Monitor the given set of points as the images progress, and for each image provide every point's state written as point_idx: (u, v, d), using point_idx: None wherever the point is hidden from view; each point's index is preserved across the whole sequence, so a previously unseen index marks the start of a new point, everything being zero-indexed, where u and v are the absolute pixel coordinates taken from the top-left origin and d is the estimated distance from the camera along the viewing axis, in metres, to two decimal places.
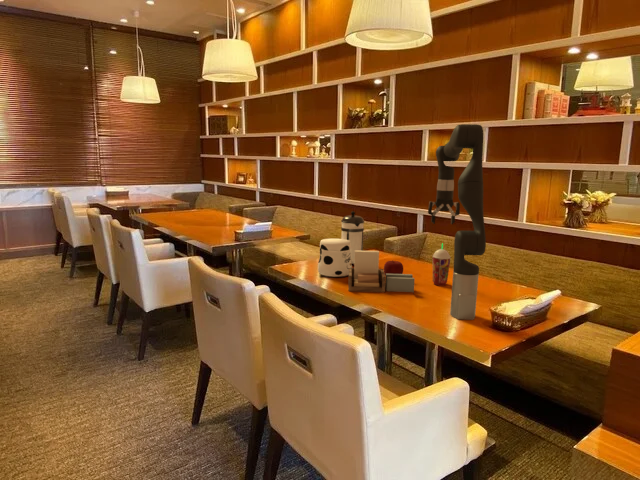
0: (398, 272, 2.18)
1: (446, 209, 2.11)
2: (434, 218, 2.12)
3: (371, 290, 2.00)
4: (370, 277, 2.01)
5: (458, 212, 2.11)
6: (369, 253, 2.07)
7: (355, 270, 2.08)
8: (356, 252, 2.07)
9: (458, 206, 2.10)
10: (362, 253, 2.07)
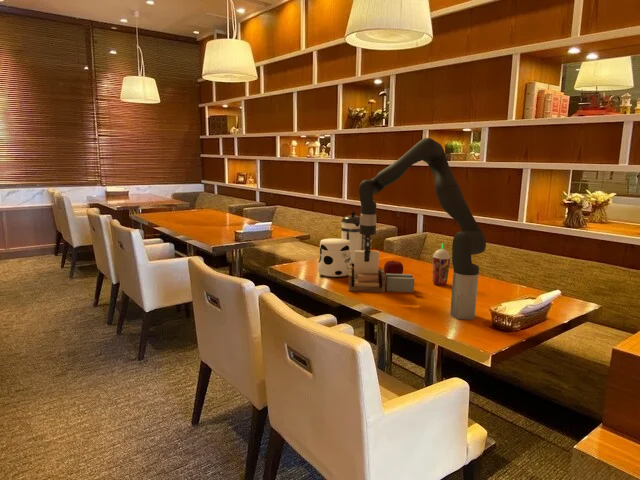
0: (398, 272, 2.18)
1: None
2: None
3: (371, 290, 2.00)
4: (370, 277, 2.01)
5: None
6: None
7: (355, 270, 2.08)
8: (356, 252, 2.07)
9: None
10: (362, 253, 2.07)
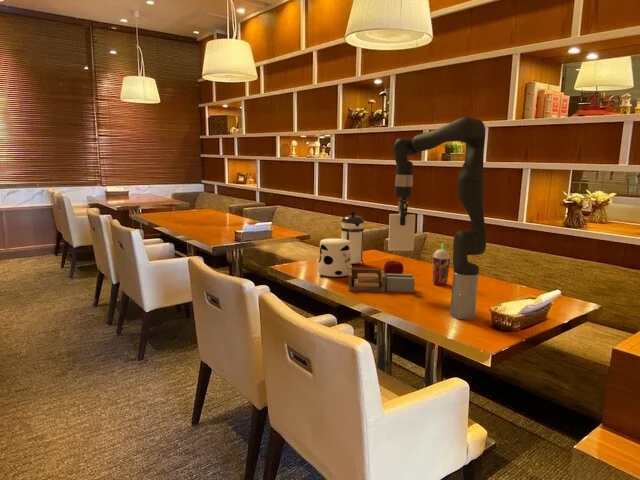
0: (398, 272, 2.18)
1: None
2: None
3: (371, 290, 2.00)
4: (370, 277, 2.01)
5: (404, 211, 2.02)
6: None
7: (390, 234, 1.99)
8: (391, 215, 1.98)
9: None
10: (398, 216, 1.98)
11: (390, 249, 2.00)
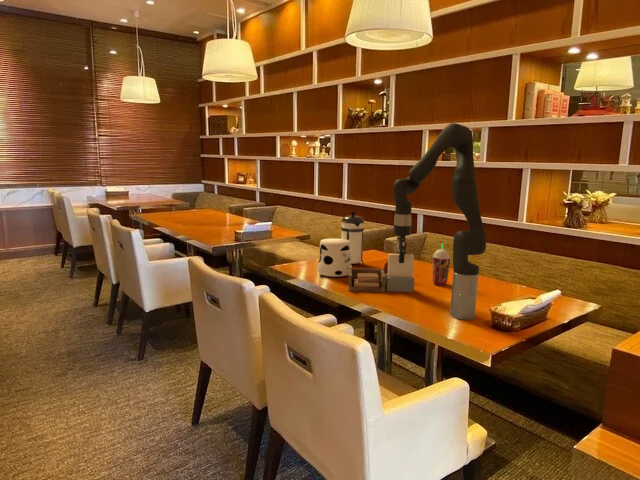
0: None
1: None
2: None
3: (371, 290, 2.00)
4: (370, 277, 2.01)
5: None
6: None
7: (389, 274, 2.03)
8: (390, 255, 2.01)
9: None
10: (396, 256, 2.01)
11: None
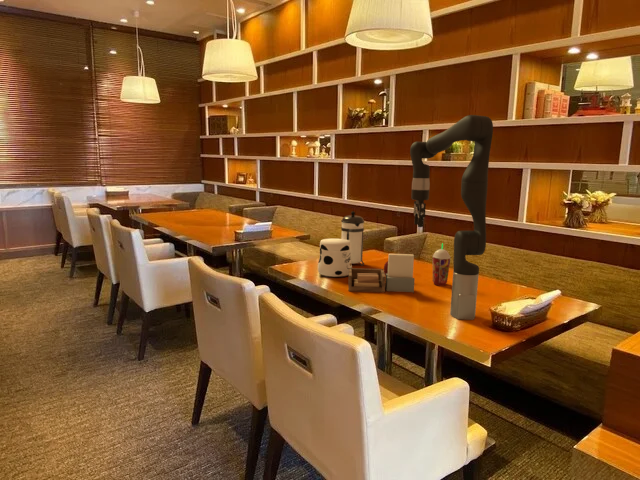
0: None
1: None
2: None
3: (371, 290, 2.00)
4: (370, 277, 2.01)
5: None
6: (403, 256, 2.01)
7: (389, 274, 2.03)
8: (390, 255, 2.01)
9: None
10: (396, 256, 2.01)
11: None
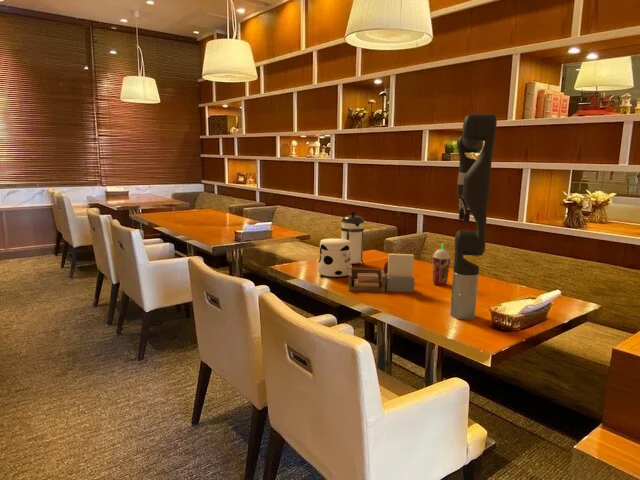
0: None
1: None
2: (469, 216, 1.91)
3: (371, 290, 2.00)
4: (370, 277, 2.01)
5: None
6: (403, 256, 2.01)
7: (389, 274, 2.03)
8: (390, 255, 2.01)
9: None
10: (396, 256, 2.01)
11: None
